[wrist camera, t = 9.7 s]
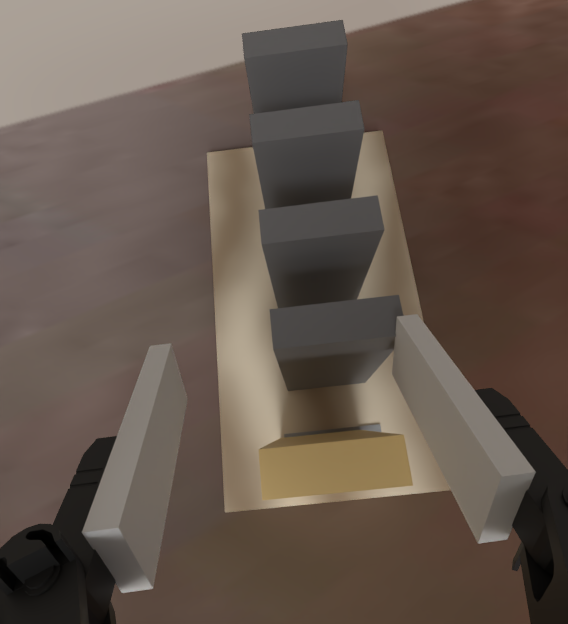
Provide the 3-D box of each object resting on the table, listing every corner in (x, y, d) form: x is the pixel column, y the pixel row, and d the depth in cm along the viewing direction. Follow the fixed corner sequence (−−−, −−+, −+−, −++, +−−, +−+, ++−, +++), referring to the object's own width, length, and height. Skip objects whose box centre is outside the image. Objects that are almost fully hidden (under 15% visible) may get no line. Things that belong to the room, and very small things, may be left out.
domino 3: (349, 287, 26) (377, 195, 16) (353, 309, 26) (384, 229, 15) (278, 295, 26) (258, 210, 16) (280, 317, 26) (261, 244, 15)
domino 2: (339, 223, 28) (358, 100, 17) (342, 243, 27) (364, 128, 17) (271, 231, 28) (249, 114, 17) (273, 251, 27) (252, 143, 17)
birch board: (379, 139, 31) (382, 129, 30) (453, 486, 23) (460, 489, 22) (210, 161, 31) (206, 151, 30) (228, 508, 24) (224, 512, 22)
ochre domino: (360, 429, 23) (404, 434, 13) (364, 457, 23) (413, 485, 12) (280, 437, 24) (258, 449, 13) (282, 465, 23) (262, 500, 13)
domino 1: (330, 166, 29) (342, 19, 19) (332, 183, 29) (347, 44, 18) (265, 174, 29) (242, 33, 19) (267, 192, 29) (244, 57, 18)
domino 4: (360, 358, 25) (398, 294, 14) (365, 382, 24) (407, 334, 14) (285, 366, 25) (269, 309, 15) (288, 391, 24) (272, 349, 14)
